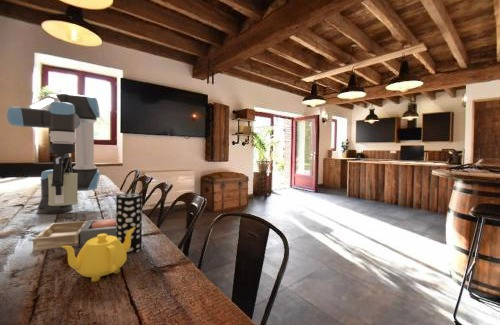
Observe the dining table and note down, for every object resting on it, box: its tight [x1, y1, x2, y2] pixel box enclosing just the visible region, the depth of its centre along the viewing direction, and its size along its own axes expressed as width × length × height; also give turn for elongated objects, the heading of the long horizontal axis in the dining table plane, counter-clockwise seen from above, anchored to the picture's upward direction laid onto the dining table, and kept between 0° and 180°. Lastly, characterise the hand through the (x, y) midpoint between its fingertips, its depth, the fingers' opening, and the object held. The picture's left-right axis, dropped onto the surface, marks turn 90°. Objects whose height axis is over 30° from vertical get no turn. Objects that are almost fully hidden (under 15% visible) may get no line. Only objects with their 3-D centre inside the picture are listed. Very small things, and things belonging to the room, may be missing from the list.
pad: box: [92, 219, 116, 229], centre depth 98 cm, size 9×9×2 cm
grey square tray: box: [79, 217, 116, 245], centre depth 98 cm, size 14×14×5 cm
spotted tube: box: [115, 192, 143, 255], centre depth 85 cm, size 8×8×20 cm
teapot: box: [60, 227, 136, 283], centre depth 70 cm, size 20×15×12 cm
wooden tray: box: [32, 220, 88, 251], centre depth 93 cm, size 18×13×4 cm
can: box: [48, 173, 79, 206], centre depth 92 cm, size 9×9×12 cm
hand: (63, 200), depth 92 cm, fingers closed on can, 9 cm apart
